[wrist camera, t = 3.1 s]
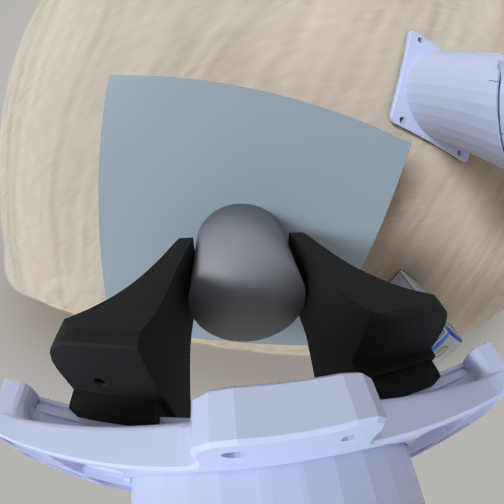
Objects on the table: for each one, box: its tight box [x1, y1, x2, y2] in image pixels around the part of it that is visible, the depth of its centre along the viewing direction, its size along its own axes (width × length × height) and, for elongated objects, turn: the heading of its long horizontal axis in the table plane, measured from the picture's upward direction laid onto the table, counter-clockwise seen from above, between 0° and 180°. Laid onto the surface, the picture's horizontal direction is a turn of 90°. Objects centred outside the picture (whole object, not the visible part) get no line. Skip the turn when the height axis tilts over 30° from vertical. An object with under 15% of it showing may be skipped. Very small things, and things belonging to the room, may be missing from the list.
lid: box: [99, 75, 411, 345], centre depth 12 cm, size 14×14×6 cm
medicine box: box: [390, 270, 462, 367], centre depth 22 cm, size 8×4×9 cm, turn 148°
